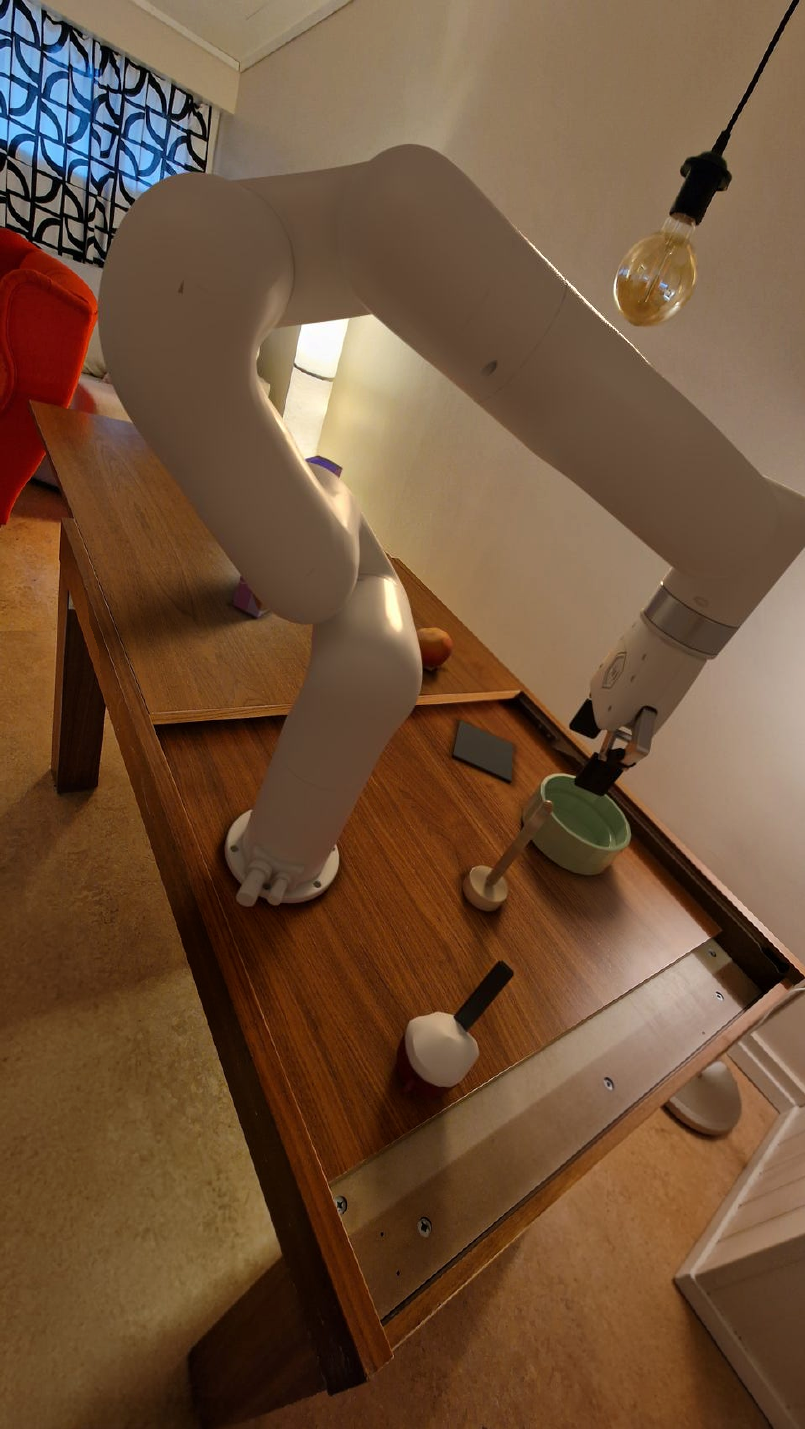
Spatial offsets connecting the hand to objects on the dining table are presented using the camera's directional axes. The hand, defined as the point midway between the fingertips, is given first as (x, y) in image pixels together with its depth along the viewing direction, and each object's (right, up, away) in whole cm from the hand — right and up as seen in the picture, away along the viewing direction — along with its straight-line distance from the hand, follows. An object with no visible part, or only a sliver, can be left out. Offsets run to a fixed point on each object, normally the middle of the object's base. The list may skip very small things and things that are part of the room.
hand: (584, 759), depth 64 cm
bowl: (+5, -13, +27) cm, 31 cm away
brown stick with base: (-9, -17, +12) cm, 23 cm away
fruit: (-15, +14, +51) cm, 55 cm away
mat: (-6, -1, +36) cm, 37 cm away
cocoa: (-17, -28, -7) cm, 33 cm away
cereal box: (-43, +26, +48) cm, 69 cm away
